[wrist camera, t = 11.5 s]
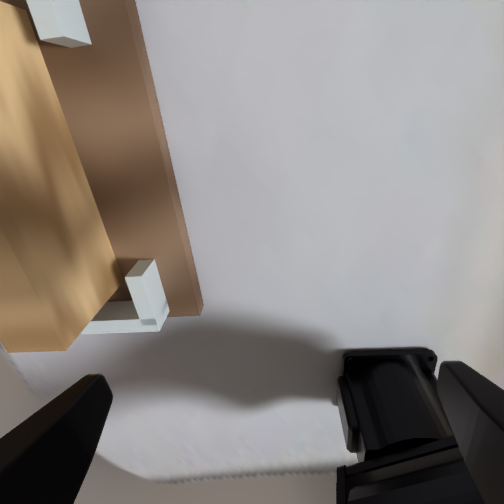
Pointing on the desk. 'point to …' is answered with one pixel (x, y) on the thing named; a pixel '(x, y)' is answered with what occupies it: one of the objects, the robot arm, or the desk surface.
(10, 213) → the tan wooden bar
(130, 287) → the holder
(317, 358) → the desk surface
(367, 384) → the robot arm
